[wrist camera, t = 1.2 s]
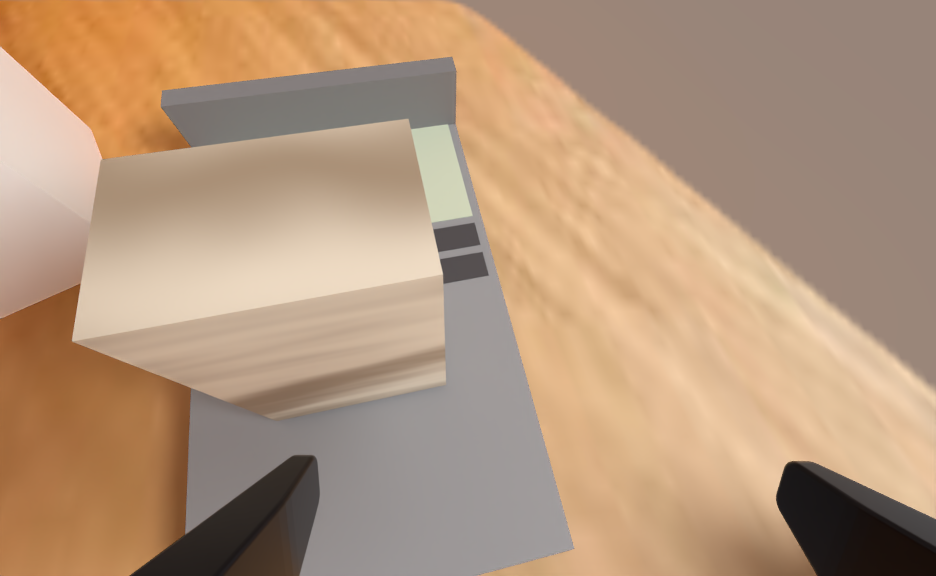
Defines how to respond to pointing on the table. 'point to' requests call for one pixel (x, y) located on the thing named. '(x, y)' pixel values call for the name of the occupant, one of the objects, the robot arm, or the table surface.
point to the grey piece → (402, 416)
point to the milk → (41, 190)
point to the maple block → (270, 269)
